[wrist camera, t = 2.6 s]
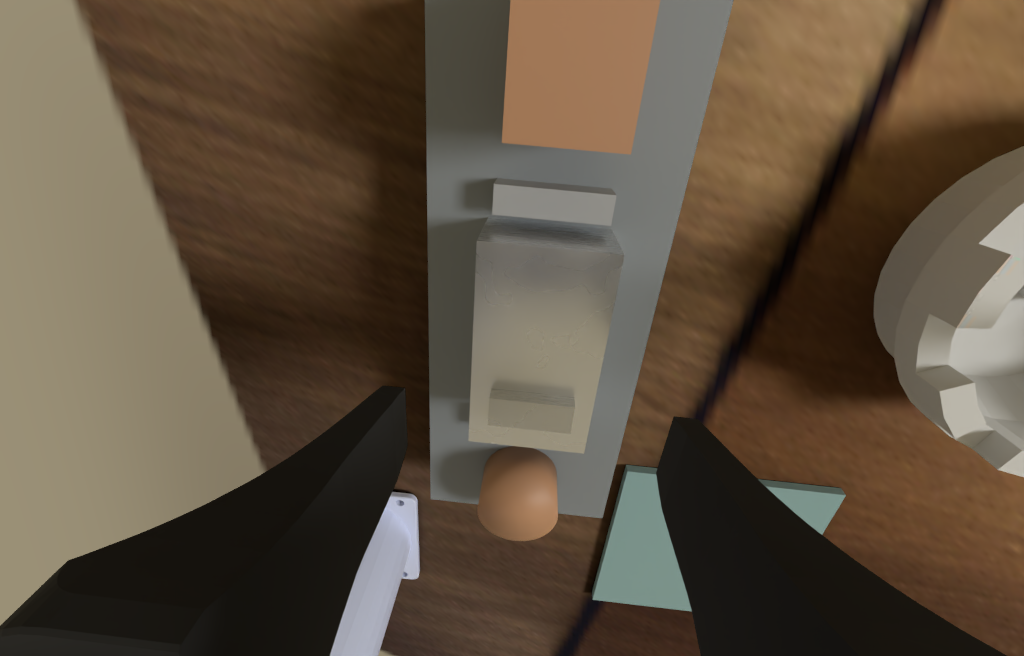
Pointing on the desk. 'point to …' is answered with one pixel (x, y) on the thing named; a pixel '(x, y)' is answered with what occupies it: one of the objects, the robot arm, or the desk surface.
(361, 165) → the desk surface
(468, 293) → the ridged gray base plate
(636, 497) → the rubber mat
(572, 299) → the lever cap
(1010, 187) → the flag stand
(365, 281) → the desk surface
